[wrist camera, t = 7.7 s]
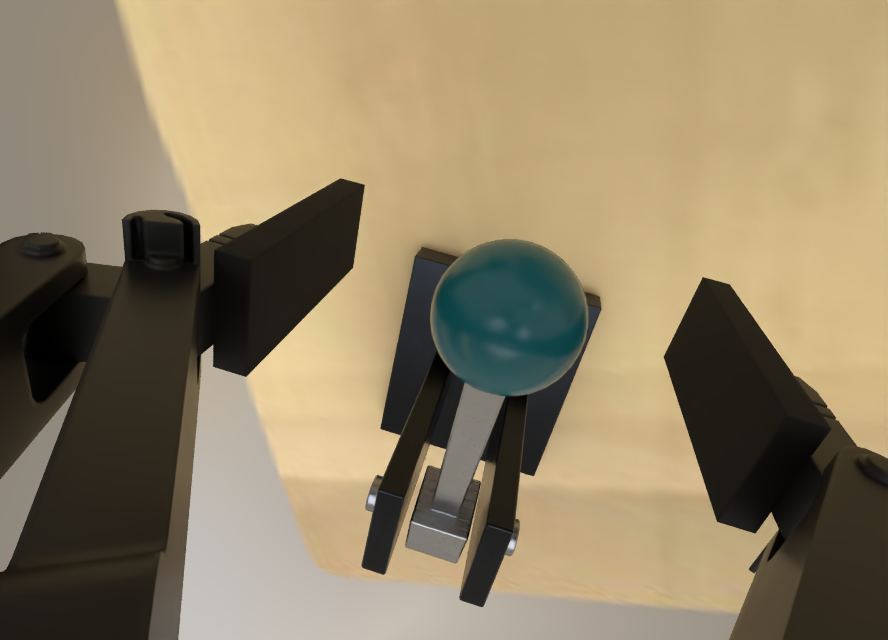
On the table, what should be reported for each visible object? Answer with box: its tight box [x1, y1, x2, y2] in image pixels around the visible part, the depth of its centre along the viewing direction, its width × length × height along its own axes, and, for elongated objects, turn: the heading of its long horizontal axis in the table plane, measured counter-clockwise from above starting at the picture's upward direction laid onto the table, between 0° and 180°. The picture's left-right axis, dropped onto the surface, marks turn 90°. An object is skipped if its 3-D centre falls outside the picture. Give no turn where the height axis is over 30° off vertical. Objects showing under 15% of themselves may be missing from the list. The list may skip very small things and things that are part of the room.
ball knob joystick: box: [405, 239, 588, 563], centre depth 17 cm, size 15×4×4 cm, turn 168°
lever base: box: [362, 248, 601, 607], centre depth 26 cm, size 12×10×14 cm
